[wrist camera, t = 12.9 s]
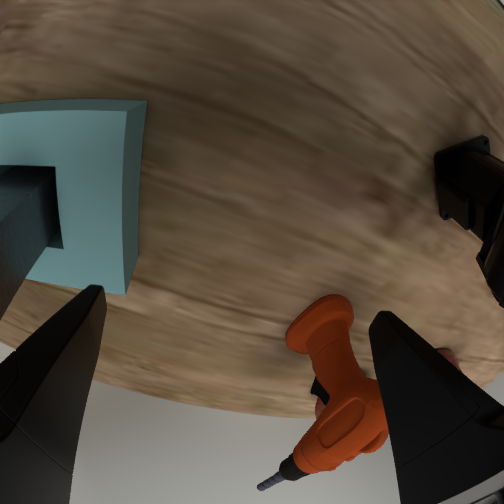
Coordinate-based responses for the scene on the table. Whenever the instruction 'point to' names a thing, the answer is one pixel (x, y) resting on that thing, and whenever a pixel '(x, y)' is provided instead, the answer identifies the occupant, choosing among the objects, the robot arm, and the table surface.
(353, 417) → the toy drill
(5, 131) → the block
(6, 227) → the grey t-shaped bar
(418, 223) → the table surface
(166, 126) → the table surface
